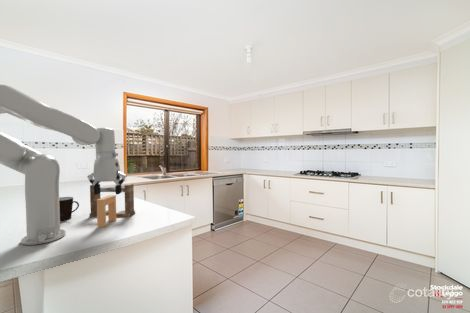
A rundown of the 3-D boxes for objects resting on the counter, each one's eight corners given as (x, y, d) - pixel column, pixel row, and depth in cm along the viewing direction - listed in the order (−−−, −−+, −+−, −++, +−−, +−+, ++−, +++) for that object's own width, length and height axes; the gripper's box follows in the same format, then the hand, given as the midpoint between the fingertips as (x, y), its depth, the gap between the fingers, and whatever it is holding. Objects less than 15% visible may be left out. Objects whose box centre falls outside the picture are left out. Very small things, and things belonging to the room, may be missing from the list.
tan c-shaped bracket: (116, 220, 104) (115, 195, 103) (104, 227, 95) (103, 199, 94) (110, 220, 104) (109, 195, 103) (97, 226, 95) (96, 199, 94)
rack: (135, 213, 114) (134, 183, 114) (129, 217, 108) (128, 185, 108) (97, 213, 115) (96, 183, 115) (89, 216, 109) (88, 185, 109)
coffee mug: (47, 220, 104) (46, 199, 103) (68, 215, 111) (67, 196, 111) (60, 224, 98) (59, 202, 98) (81, 219, 106) (80, 198, 105)
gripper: (129, 155, 102) (131, 191, 103) (92, 155, 102) (94, 192, 103) (120, 156, 94) (122, 195, 95) (80, 156, 95) (83, 196, 96)
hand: (107, 193), depth 99 cm, fingers open, 9 cm apart
